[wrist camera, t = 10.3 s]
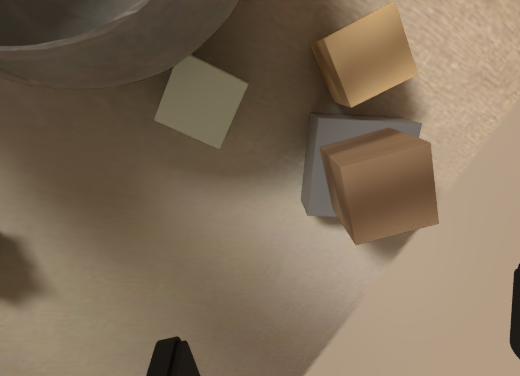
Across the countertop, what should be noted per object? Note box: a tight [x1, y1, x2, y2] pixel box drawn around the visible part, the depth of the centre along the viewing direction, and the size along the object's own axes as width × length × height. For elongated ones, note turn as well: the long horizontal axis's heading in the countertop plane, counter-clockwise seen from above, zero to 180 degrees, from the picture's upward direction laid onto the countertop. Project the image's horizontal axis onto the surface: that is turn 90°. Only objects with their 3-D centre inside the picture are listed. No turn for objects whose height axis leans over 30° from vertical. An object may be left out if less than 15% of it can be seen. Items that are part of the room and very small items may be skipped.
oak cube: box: [311, 1, 418, 108], centre depth 25 cm, size 5×5×5 cm
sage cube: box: [154, 54, 248, 150], centre depth 25 cm, size 5×5×5 cm
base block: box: [301, 113, 422, 217], centre depth 28 cm, size 8×8×4 cm
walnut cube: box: [319, 128, 439, 245], centre depth 23 cm, size 6×6×6 cm
